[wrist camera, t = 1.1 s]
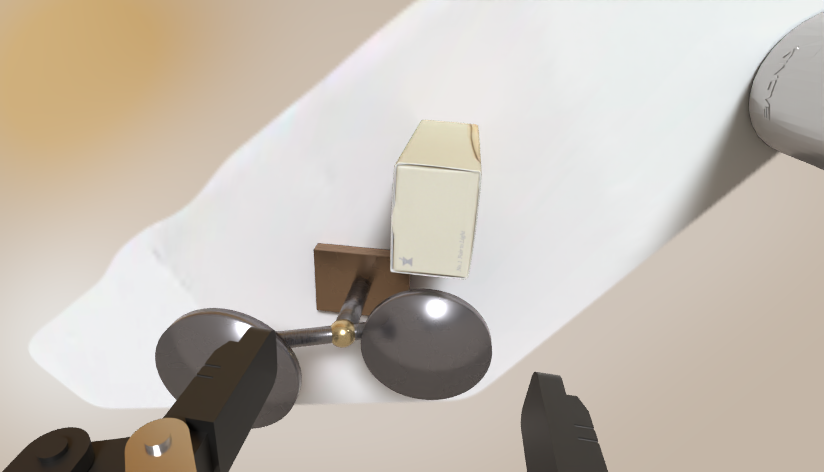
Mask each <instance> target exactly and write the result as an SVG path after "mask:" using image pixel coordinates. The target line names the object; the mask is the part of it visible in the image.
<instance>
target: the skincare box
mask: <svg viewBox="0 0 824 472" xmlns="http://www.w3.org/2000/svg"><path fill="white" fill-rule="evenodd" d="M481 176H482V172H481V158H480V142H479V130H478V125H475V124H466V123H457V122H445V121H433V120H422V121H421V122H420V124H419V125H418V127H417V129H416V130H415V132H414V134H413V135H412V137H411V139H410V140H409V142H408V144H407V146H406V147H405V149H404V151H403V152H402V154H401V156H400V157H399V159H398V161H397V162H396V164H395V166H394V178H393V194H392V211H391V249H390V271H391V272H397V273H404V274H413V275H422V276H432V277H441V278H453V279H467V278H468V276H469V271H470V265H471V260H472V253H473V246H474V239H475V232H476V224H477V215H478V206H479V197H480V187H481Z"/></svg>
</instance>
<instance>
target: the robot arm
mask: <svg viewBox="0 0 824 472" xmlns="http://www.w3.org/2000/svg"><path fill="white" fill-rule="evenodd" d="M749 113H750V118H751V122H752V125H753V127H754V129H755V131H756V133H757V135H758V136H759V137H760V138H761V139H762V140H763V141H764V142H765V143H766V144H767V145H768V146H770V147H772V148H774V149H775V150H777V151H779V152H782V153H784V154H787V155H789V156H792V157H794V158H796V159H799V160H801V161H804V162H806V163H809V164H811V165H814V166H816V167H818V168H820V169H823V170H824V12H821V13H819V14H817V15H815V16H814V17H812V18H810V19H808V20H806V21H804V22H802V23H801V24H800V25H799V26H797V27H796V28H795V29H793V30H792V31H791V32H789V33H788V34H787V35H786V36H785V37H784V38H783V39H782V40H781V41H780V42H779V43H778V44H777V45H776V46H775V47H774V48H773V49H772V50H771V52H770V53H769V54H768V56H767V57H766V59H765V60H764V61H763V63H762V64H761V66H760V68H759V70H758V73H757V75H756V77H755V79H754V81H753V85H752V89H751V93H750V100H749ZM276 375H277V342H276V332H275V330H270V329H263V328H257V327H249V328H248V329H247V331H246V332H245V333H244V335H243V336H242V338H241V339H240V340H239V342H236V341H228V342H227V343H225V344H224V345H222V346H221V347H219V348H218V349H216V350H215V351H214V352H213V353H212V355H211V356H210V357H209V359H208V360H207V361H206V363H205V365H204V366H203V367H202V368H201V369H200V370H199V372H198V373H197V376H196V377H194V378H193V380H192V381H191V382H190V384H189V385H188V386H187V388H186V389H185V390H184V391H183V393H182V394H181V395H180V397H179V398H178V399H177V401H176V402H175V403H174V405H173V406H172V407H171V408H170V410H169V411H168V412H167V414H166V415H165V416H164V417H163V418H162V419H158V420H154V421H152V422H149V423H147V424H145V425H144V426H142V427H140V428H139V429H138V430H137V431H135V432H134V434H132V436H131V437H126V438H120V439H112V440H104V441H95V442H91V441H90V437H89V435H88V433H87V432H86V431H84V430H82V429H80V428H73V427H69V428H62V429H57V430H55V431H51V432H49V433H46V434H44V435H42V436H40V437H39V438H37V439H36V440H34V441H33V442H31V443H30V444H29V445H28V446H27V447H26V448H25V449H24V450H23V451H22V452H21V453H20V454H19V455H18V456H17V457H16V458H15V459H14V460H13V461H12V462H11V463H10V464H9V465H8V467H6V468H5V469H4V470H3V472H229V470H230V468H231V466H232V464H233V462H234V460H235V458H236V456H237V454H238V453H239V451H240V449H241V447H242V445H243V443H244V441H245V439H246V437H247V435H248V433H249V432H250V430H251V428H252V426H253V424H254V422H255V420H256V418H257V416H258V415H259V413H260V411H261V409H262V407H263V405H264V403H265V401H266V399H267V397H268V395H269V394H270V392H271V390H272V388H273V385H274V383H275V379H276ZM593 428H594V427H593V424H592V420H591V417H590V414H589V411H588V410H587V409H586V407H585V406H584V405H583V404H582V402H581V401H580V400H579V398H578V397H577V396H572V395H566V392H565V389H564V385H563V381H562V378H561V377H560V376H558V375H553V374H546V373H539V372H534V373H533V375H532V378H531V382H530V385H529V388H528V391H527V395H526V398H525V401H524V405H523V408H522V414H521V431H522V438H523V445H524V453H525V460H526V466H527V472H608V470H607V467H606V464H605V461H604V458H603V455H602V452H601V448H600V445H599V444H598V439H597V436H596V433H595V431H594V429H593Z"/></svg>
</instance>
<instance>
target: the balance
mask: <svg viewBox="0 0 824 472" xmlns="http://www.w3.org/2000/svg"><path fill="white" fill-rule="evenodd" d="M314 264H315V283H316V303H317V310H323V311H332V312H340V313H339V315H338V317H337V320H336V321H335V322H334V323H333V324H332V325H331V326H325V327H315V328H306V329H296V330H287V331H277V332H276V331H275V332H276V342H277V375H276V379H275V383H274V385H273V388H272V390H271V392H270V394H269V395H268V397H267V399H266V401H265V403H264V405H263V407H262V409H261V411H260V413H259V415H258V416H257V418H256V420H255V422H254V424H253V426H252V428H251V429H253V428H260V427H265V426H268V425H271V424H273V423H275V422H277V421H279V420H281V419H282V418H283V417H284V416H286V415H287V413H288V412H289V411H290V410H291V408H292V407H293V405H294V403H295V401H296V398H297V396H298V394H299V391H300V388H301V382H302V375H301V369H300V366H299V362H298V360H297V358H296V356H295V354H294V352H293V351H292V349H291V348H293V347H302V346H311V345H319V344H328V343H333V344H334V345H335V346H337V347H341V348H344V347H348V346H350V345H351V344H352V343H353V342H354V341H355V340H361V351H362V355H363V358H364V361H365V363H366V365H367V367H368V368H369V370H370V371H371V373H372V374H373V375H374V376H375V377H376V378H377V379H378V380H379V381H380V382H381V383H383V384H384V385H385V386H387V387H388V388H390V389H391V390H393V391H395V392H397V393H400V394H402V395H405V396H408V397H412V398H417V399H425V400H438V399H446V398H450V397H454V396H457V395H460V394H462V393H464V392H466V391H468V390H469V389H471V388H472V387H474V386H475V385H476V384H477V383H478V382H479V381H480V380H481V379H482V378H483V377H484V375H485V374H486V372H487V370H488V368H489V366H490V362H491V358H492V345H491V336H490V332H489V329H488V326H487V324H486V322H485V321H484V319H483V317H482V316H481V315H480V314H479V313H478V311H477V310H476V309H475V308H473V307H472V306H471V305H470V304H469V303H467V302H466V301H464V300H462V299H461V298H459V297H457V296H455V295H452V294H450V293H446V292H443V291H439V290H432V289H413V290H410V278H411V274H404V273H397V272H391V271H390V250H384V249H374V248H363V247H353V246H343V245H332V244H322V243H318V244H317V246H316V247H315V249H314ZM361 315H369V317H368V319H367V321H366V322H362V323H359V320H360V317H361ZM249 327H257V328H263V329H270V330H273V329H272V328H270V327H269V326H268V325H266V324H264V323H263V322H261V321H259V320H257V319H255V318H253V317H251V316H249V315H246V314H244V313H241V312H237V311H233V310H228V309H220V308H207V309H200V310H195V311H192V312H189V313H187V314H185V315H183V316H181V317H180V318H178V319H177V320H176V321H175V322H174V323H173V324H172V325H171V326H170V327H169V328H168V329H167V330H166V331H165V332H164V333H163V334H162V336H161V338H160V339H159V341H158V344H157V347H156V353H155V361H156V367H157V370H158V373H159V376H160V378H161V380H162V382H163V383H164V385H165V387H166V388H167V390H168V391H169V392H170V393H171V394H172V396H173V397H174V398H175V399H176V400H177V399H178V398H179V397H180V395H181V394H182V393H183V391H184V390H185V389H186V388H187V386H188V385H189V384H190V382H191V381H192V380H193V378H194V377H196V376H197V373H198V372H199V370H200V369H201V368H202V367H203V366H204V365H205V363H206V361H207V360H208V359H209V357H210V356H211V355H212V353H213V352H214V351H215V350H216V349H218V348H219V347H221V346H222V345H224V344H225V343H227V342H228V341H236V342H239V340H240V339H241V338H242V336H243V335H244V333H245V332H246V331H247V329H248V328H249Z"/></svg>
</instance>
